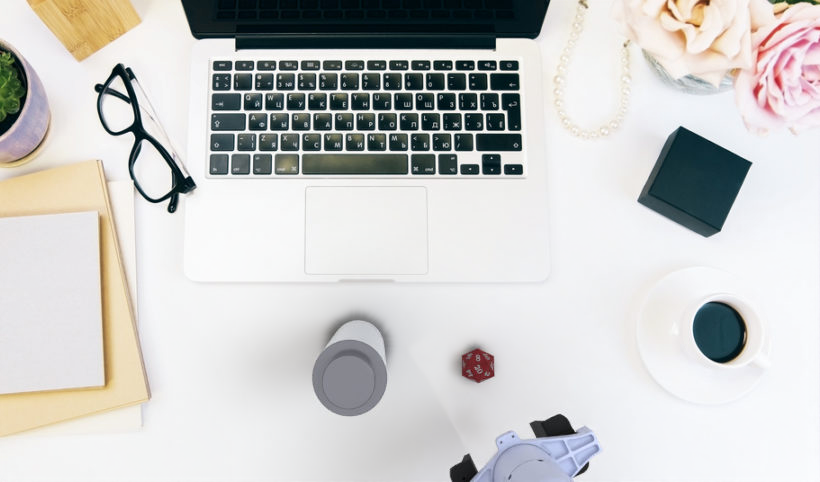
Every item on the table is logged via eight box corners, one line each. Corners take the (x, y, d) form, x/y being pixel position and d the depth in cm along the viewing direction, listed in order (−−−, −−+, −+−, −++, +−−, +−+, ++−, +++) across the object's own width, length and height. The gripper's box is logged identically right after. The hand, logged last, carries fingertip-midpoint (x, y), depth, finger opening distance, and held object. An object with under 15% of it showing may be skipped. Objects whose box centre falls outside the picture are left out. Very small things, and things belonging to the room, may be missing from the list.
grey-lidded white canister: (393, 359, 72) (401, 401, 48) (345, 382, 72) (329, 436, 48) (370, 311, 72) (366, 329, 48) (323, 334, 72) (296, 363, 48)
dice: (451, 359, 72) (455, 364, 68) (482, 340, 72) (488, 344, 68) (467, 386, 71) (472, 393, 67) (498, 367, 71) (506, 372, 68)
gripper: (595, 410, 49) (547, 381, 62) (437, 489, 48) (424, 442, 62) (635, 491, 48) (579, 443, 61) (476, 571, 47) (454, 505, 61)
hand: (503, 447), depth 61 cm, fingers open, 7 cm apart
